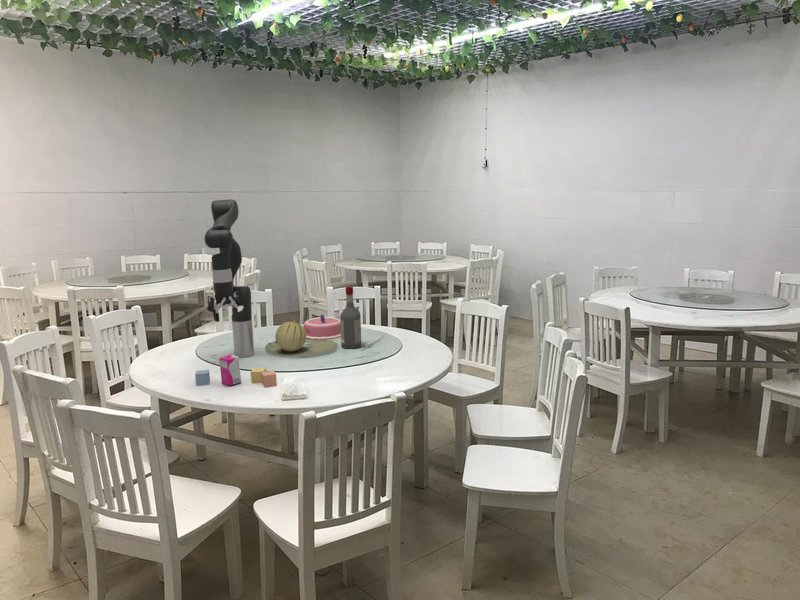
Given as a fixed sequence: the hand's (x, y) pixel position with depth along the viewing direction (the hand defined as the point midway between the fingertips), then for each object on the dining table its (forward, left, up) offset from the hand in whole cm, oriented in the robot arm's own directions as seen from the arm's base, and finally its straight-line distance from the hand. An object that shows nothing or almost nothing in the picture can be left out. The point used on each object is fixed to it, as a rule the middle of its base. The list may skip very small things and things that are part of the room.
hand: (226, 319), depth 244 cm
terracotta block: (+5, +16, -27) cm, 32 cm away
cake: (-76, +33, -27) cm, 87 cm away
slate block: (0, -12, -27) cm, 29 cm away
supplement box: (+2, 0, -27) cm, 27 cm away
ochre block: (0, +11, -27) cm, 29 cm away
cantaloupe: (-44, +19, -27) cm, 55 cm away
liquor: (-48, +48, -27) cm, 73 cm away
